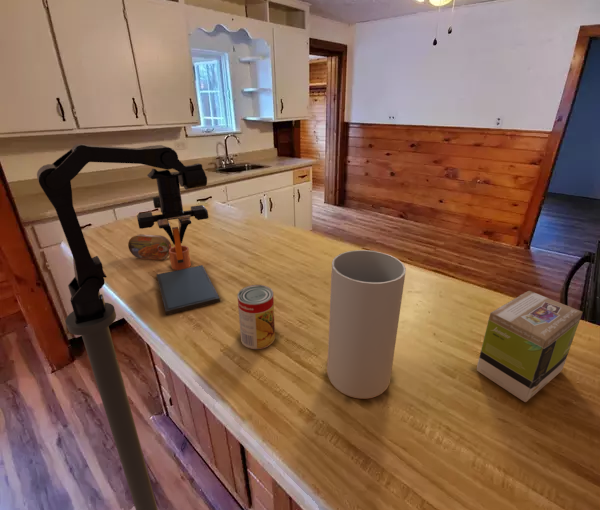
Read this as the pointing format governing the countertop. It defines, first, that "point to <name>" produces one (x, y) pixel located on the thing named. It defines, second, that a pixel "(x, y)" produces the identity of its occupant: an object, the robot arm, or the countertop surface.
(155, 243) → the tin
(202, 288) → the tablet
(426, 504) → the countertop surface
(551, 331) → the tea box
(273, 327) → the canned food
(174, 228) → the stylus
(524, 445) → the countertop surface
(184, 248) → the pen cup
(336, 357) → the cylinder vase
